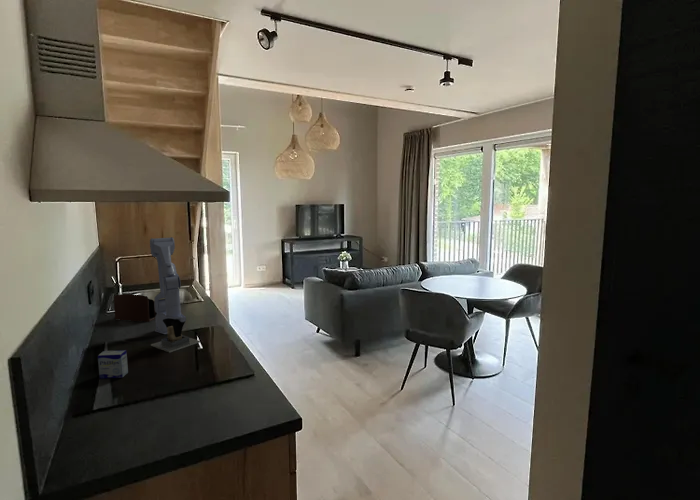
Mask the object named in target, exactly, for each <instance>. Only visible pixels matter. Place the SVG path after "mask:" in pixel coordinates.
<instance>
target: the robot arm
mask: <svg viewBox="0 0 700 500" xmlns="http://www.w3.org/2000/svg"><path fill="white" fill-rule="evenodd" d="M149 247H150V248H149V249H150V254H151V257H154V258H155V259H156V262H157V271H158V283H159V291H160V292H158V293H157V294H156V295H155V296H154V299H153V300H154V301H155V302H154V305H155V312H156V313H157V314H156V317H155V319H154V320H155V329H154V332H156V333H159V334H162V335H168V334H167V327H169V326H173V328H174V333H175V337H179V336H181V333H182V332H183V328H184V325H185V323H186V321H187V319H186V318H187V317H186V316H185V315H184V314H183V313H182V311H181V310H182V309H181V307H182V306H181V296H180V294H181V292H180V290H181V278H180V276H179V274H178V273H177V272H178V271H177V267H176V264H175V263H173V262H172V256H173V255H174V253H175V252H174V251H175V248H176V244H175V239H174V237H160V238H157V237H156V238H152V237H151V238H150V239H149ZM182 334H183V333H182Z"/></svg>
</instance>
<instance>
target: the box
mask: <svg viewBox="0 0 700 500" xmlns="http://www.w3.org/2000/svg"><path fill="white" fill-rule="evenodd" d="M127 353H128V352H127V349H120V350H119V349H118V350H103V351H102V352H101V353H99V354H98V355H97V362H98V375H99V376H98V377H99V379H100V380H103V379H120V378H121V379H122V378H124V377H125V376H126V375H127V374H128V373H129V368H128V367H129V366H128V356H127Z"/></svg>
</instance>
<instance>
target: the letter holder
mask: <svg viewBox="0 0 700 500" xmlns="http://www.w3.org/2000/svg"><path fill="white" fill-rule="evenodd" d="M113 301H114V302H113V303H114V304H113V306H114V307H113V308H114V320H115V319H120V320H119V321H121V320H131V321H130V322H142V321H144V322H147V323H149V322H153V321H154V320H155V317H156V314H157V313H156V312H155V305H154V302H155V300H154V299H151V298H149V297H148V295H143V294H142V295H141V294H133V293H126V294H125V293H122V294H117V295H114V296H113Z"/></svg>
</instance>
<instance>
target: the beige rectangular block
mask: <svg viewBox="0 0 700 500" xmlns="http://www.w3.org/2000/svg"><path fill="white" fill-rule="evenodd" d="M166 335H167V337H168V340H170V341H176V340H179V339H182V335H183V333H181V336H179V337H175V333H174V328H173V326H169V327H167V334H166Z"/></svg>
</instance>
